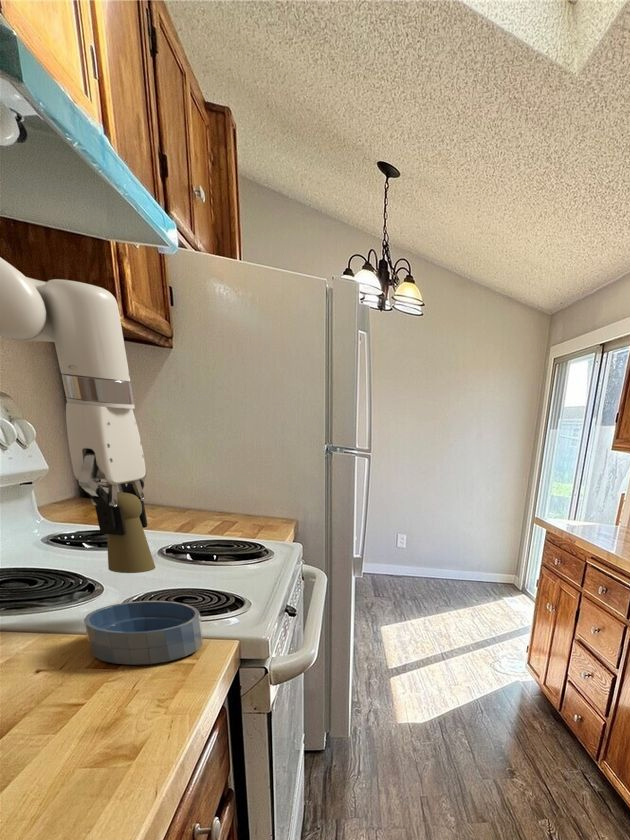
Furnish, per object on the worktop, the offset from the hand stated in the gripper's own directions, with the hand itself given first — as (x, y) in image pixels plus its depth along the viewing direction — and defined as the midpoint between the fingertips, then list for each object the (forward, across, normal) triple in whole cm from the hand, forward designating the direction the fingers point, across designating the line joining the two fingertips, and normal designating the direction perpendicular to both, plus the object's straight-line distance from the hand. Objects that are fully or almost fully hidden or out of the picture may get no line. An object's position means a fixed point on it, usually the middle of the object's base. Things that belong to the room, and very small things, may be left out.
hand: (124, 529), depth 82 cm
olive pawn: (+6, 0, 0) cm, 6 cm away
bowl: (+15, +10, +6) cm, 19 cm away
